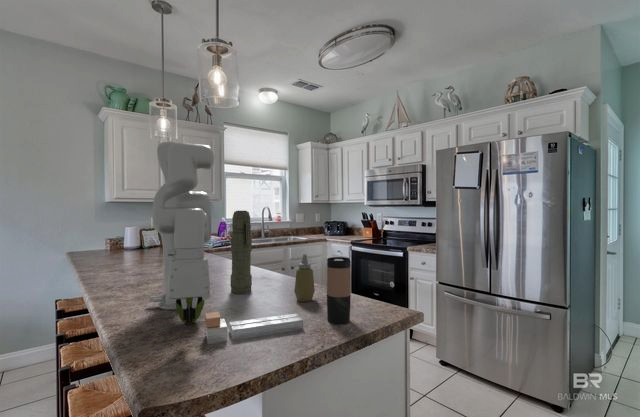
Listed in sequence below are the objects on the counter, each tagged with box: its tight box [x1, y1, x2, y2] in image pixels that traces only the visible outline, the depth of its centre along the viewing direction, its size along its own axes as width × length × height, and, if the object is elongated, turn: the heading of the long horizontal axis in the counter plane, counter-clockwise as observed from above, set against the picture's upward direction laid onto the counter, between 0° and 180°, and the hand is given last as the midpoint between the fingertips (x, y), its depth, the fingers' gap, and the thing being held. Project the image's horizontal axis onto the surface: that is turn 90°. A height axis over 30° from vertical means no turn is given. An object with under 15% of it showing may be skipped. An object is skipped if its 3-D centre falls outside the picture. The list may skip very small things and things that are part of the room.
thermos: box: [230, 210, 253, 295], centre depth 138 cm, size 9×12×35 cm
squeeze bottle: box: [294, 253, 316, 302], centre depth 126 cm, size 8×8×18 cm
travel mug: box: [326, 256, 352, 326], centre depth 102 cm, size 8×8×20 cm
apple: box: [176, 298, 205, 325], centre depth 100 cm, size 9×8×12 cm
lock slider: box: [204, 311, 221, 329], centre depth 88 cm, size 4×5×2 cm
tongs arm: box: [229, 313, 300, 335], centre depth 96 cm, size 20×3×3 cm, turn 113°
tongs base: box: [205, 316, 304, 345], centre depth 93 cm, size 27×7×4 cm, turn 113°
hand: (189, 321), depth 86 cm, fingers closed
